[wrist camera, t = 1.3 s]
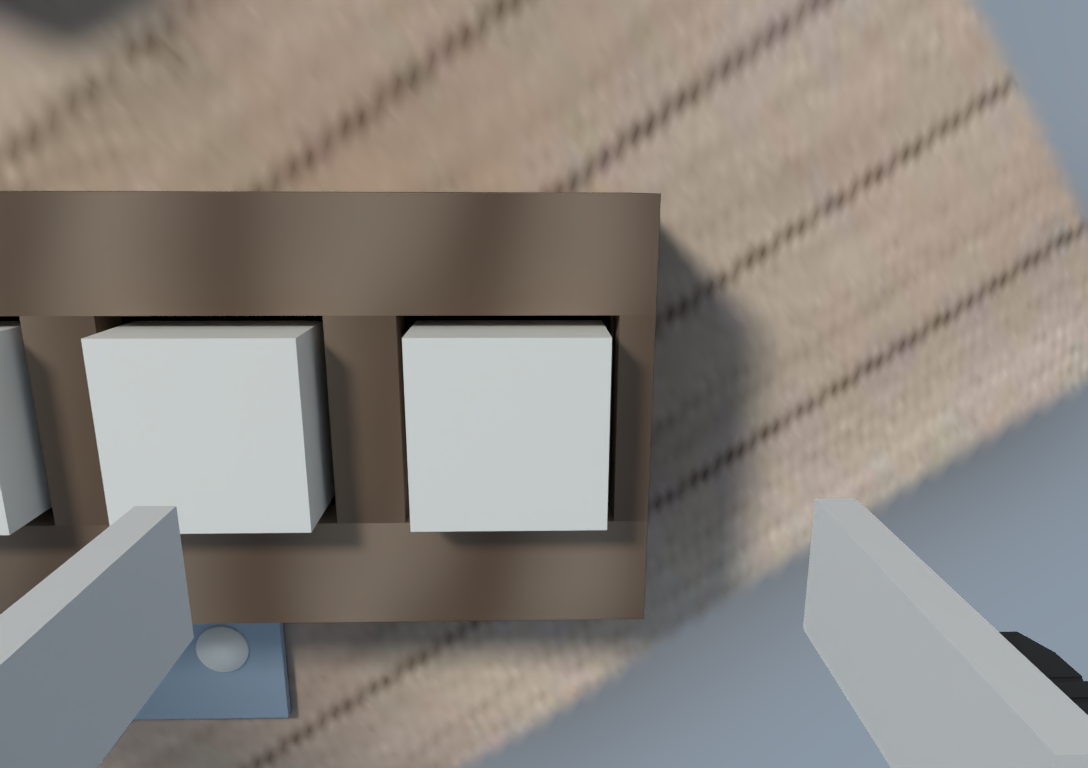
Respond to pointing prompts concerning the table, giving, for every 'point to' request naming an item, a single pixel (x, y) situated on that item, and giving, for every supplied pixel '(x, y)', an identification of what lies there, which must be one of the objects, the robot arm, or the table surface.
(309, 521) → the middle button
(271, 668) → the pattern card
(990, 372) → the table surface
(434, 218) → the button box
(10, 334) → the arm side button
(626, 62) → the table surface
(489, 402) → the outer button
